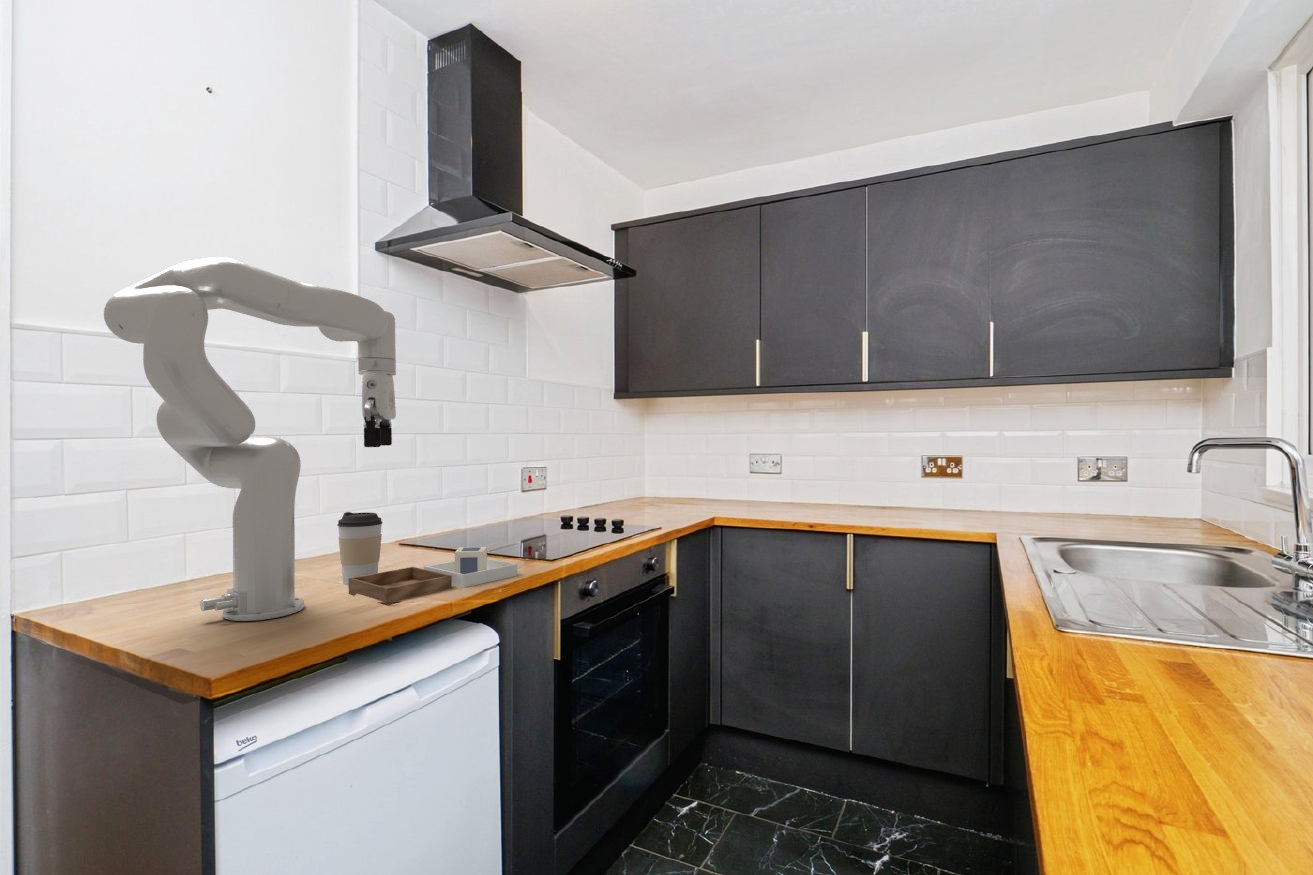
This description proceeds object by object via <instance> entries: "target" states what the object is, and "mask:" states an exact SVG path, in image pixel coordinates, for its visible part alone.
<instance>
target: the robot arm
mask: <svg viewBox="0 0 1313 875" xmlns="http://www.w3.org/2000/svg"><path fill="white" fill-rule="evenodd" d="M219 309H220V310H222V309H223V310H228V311H232V312H234V313H235V312H236V313H240V314H243V315H246V316H250V317H254V318H258V319H261V320H264V321H268V322H271V323H273V324H274V323H275V324H277V325H283V326H289V327H303V328H307V327H308V328H311V327H313V328H314V327H317V328H318V329H319V332H320V333H321V334H322V335H323V336H324V337H326V338H327V339H329V340H331V341H335V342H339V343H341V342H343V343H344V342H357V347H358V348H357V351H358V352H357V353H358V354H357V355H358V359H357V360H358V361H357V364H358V366H357V367H358V371H357V372H358V375H361V376H362V381H361V383H362V385H361V411H362V416H363V420H364V421H363V446H364V448H380V447H381V446H384V447H385V446H392V444H393V443H392V442H393V441H392V440H393V439H392V438H393V436H392V431H393V430H392V429H393V428H392V421H391V420H394V419H396V415H397V412H396V398H395V397H396V396H395V383H394V378H393V377H394V376H396V375H397V373H396V372H397V369H396V368H397V364H396V363H397V361H396V358H397V356H396V318H395V316H394V314H393V313H391V312H389V311H387V310H384V309H383V308H382V306H381V305H379V304H378V303H377V302H374V301H372V300H371V299H367V298H365V297H363V296H361V295H357V294H354V293H351V292H347V291H345V290H339V289H336V288H335V289H334V288H330V287H325V286H319V285H315V284H311V283H306V282H300V281H296V280H293V279H291V278H290V279H289V278H287V277H283V276H281V275H279V274H275V273H272V272H269V271H267V270H263V269H262V268H258V267H255V266H254V265H250V264H248V263H244V262H242V261H239V260H236V259H233V258H229V257H223V256H221V257H220V256H217V257H207V258H201V259H194V260H188V261H183V262H181V263H178V264H176V265H173V266H171V267H169V268H167V269H164V270H162V271H161V272H159V273H156V274H154V275H152V276H150V277H148V278H146V279H144V280H141V281H139V282H137V283H135V284H133V285H130V286H129V287H126V288H124V289H122V290H120V291H118V292H116V293H115V294H113V295H112V296H111V297H110V298H109V300H107V302H106V304H105V306H104V310H103V320H104V321H105V322H104V323H105V325H106V326H107V328H108V330H110V332H111V333H113V334H114V336H116V337H117V338H119V339H121V340H123V341H125V342H129V343H133V344H138V345H139V344H143V352H142V353H143V354H142V356H143V359H142V360H143V362H142V364H143V370H144V374H145V376H146V379H147V381H148V382H149V384H150V386H151V387H152V388H153V390H154V391H155V392H156V394H158V396H160V398H161V399H162V400H163V402H161V404H160V405H159V407H158V409H157V412H156V426H157V429H158V431H159V434H160V435H161V437H162V439H163V440H164V441H165V442H166V443H167V445H169V446H170V448H172V450H174V451H175V452H176V454H178V455H179V456H180V457H182V459H184V460H185V461H186V462H187V463H188V464H189V465H190V467H192V468H193V469H194V470H195V471H196V472H197V473H198V474H200V475H201V477H203V478H205V479H206V480H207V481H208V482H210V483H212V484H213V485H216V486H217V487H221V488H226V489H227V488H228V489H240V492H239V494H238V497H237V499H236V501H235V504H234V508H233V512H232V537H233V538H232V548H233V549H232V563H233V564H232V566H233V567H232V571H233V572H232V575H233V576H232V578H233V579H232V581H233V583H232V584H233V585H232V586H233V587H232V588H230V589H227V590H226V593H225V594H222V595H221V596H220V597H212V598H206V599H201V600H200V603H199V604H200V606H199V607H200V610H201V612H207V611H211V610H214V611H222V618H223V619H225V620H228V621H235V622H253V621H264V620H272V619H276V618H281V617H286V616H289V615H293V614H295V613H298V612H299V611H301V610H303V609H304V608H305V600H304V599H302V598H299V597H296V593H295V592H296V586H295V584H296V578H295V576H296V574H295V573H296V572H295V569H296V567H295V562H296V561H295V559H296V558H295V556H296V554H295V553H296V552H295V550H296V548H295V546H296V545H295V542H296V540H295V538H296V536H295V530H296V529H295V508H296V505H295V504H296V495H297V494H296V492H297V488H298V482H299V477H300V473H301V464H302V463H301V457H300V455H299V452H298V450H297V449H296V447H295V446H294V445H293V444H291V443H290V442H289V441H287V440H284V439H282V438H278V437H274V436H273V437H272V436H252V435H253V434H254V432H255V430H256V419H255V415H254V414H253V411H252V410H251V409H250V407H249V406H248V405H247V403H245V402H244V400H242V398H241V397H240V396H239V395H238V394H237V393H236V392H235V391H234V390H233V388H231V387H230V385H229V384H228V383H227V382H226V381H225V380H224V379H223V377H221V375H220V374H219V373H218V372H217V371H216V370H215V368H214V367H213V366H212V364H211V363H210V362H209V359H208V357H207V355H206V350H205V340H206V339H205V338H206V333H207V330H208V323H209V313H208V311H210V310H211V311H212V310H219ZM113 334H112V335H113Z"/></svg>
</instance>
